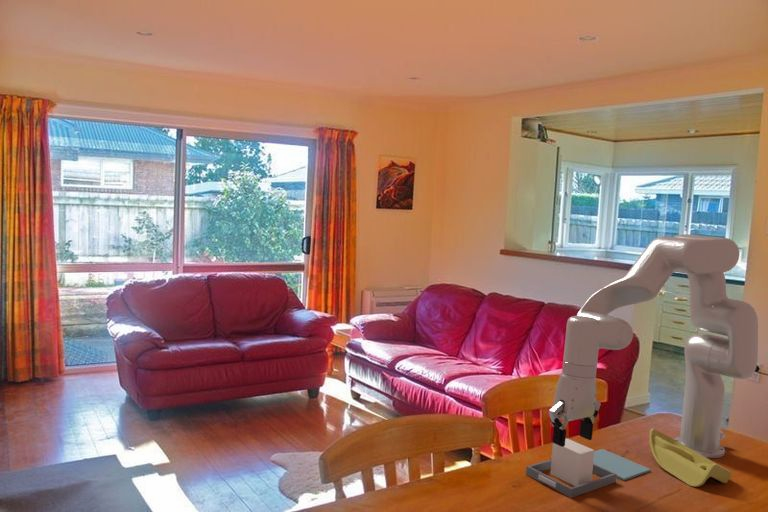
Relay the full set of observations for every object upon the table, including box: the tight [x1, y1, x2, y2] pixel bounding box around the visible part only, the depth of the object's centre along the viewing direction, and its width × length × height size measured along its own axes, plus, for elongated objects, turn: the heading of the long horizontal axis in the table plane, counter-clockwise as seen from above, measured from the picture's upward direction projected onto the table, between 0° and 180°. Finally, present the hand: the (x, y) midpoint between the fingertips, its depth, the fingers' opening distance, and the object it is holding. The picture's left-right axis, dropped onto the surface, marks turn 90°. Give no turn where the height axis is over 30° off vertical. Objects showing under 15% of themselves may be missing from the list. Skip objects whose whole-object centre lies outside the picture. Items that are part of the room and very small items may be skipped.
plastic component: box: [648, 428, 733, 488], centre depth 156 cm, size 20×7×10 cm
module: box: [549, 438, 595, 487], centre depth 147 cm, size 5×8×8 cm, turn 35°
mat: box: [593, 448, 652, 481], centre depth 157 cm, size 11×14×1 cm
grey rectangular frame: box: [525, 458, 617, 499], centre depth 147 cm, size 17×13×2 cm
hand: (572, 441), depth 147 cm, fingers open, 9 cm apart
